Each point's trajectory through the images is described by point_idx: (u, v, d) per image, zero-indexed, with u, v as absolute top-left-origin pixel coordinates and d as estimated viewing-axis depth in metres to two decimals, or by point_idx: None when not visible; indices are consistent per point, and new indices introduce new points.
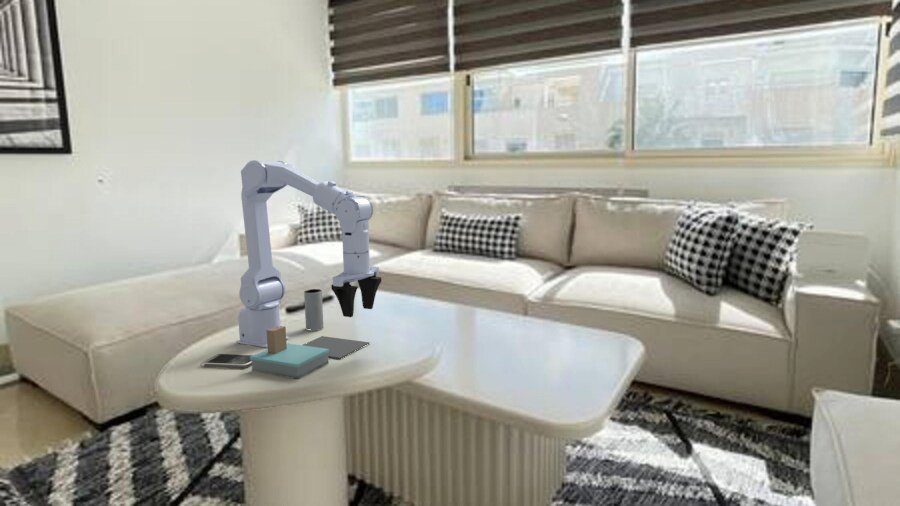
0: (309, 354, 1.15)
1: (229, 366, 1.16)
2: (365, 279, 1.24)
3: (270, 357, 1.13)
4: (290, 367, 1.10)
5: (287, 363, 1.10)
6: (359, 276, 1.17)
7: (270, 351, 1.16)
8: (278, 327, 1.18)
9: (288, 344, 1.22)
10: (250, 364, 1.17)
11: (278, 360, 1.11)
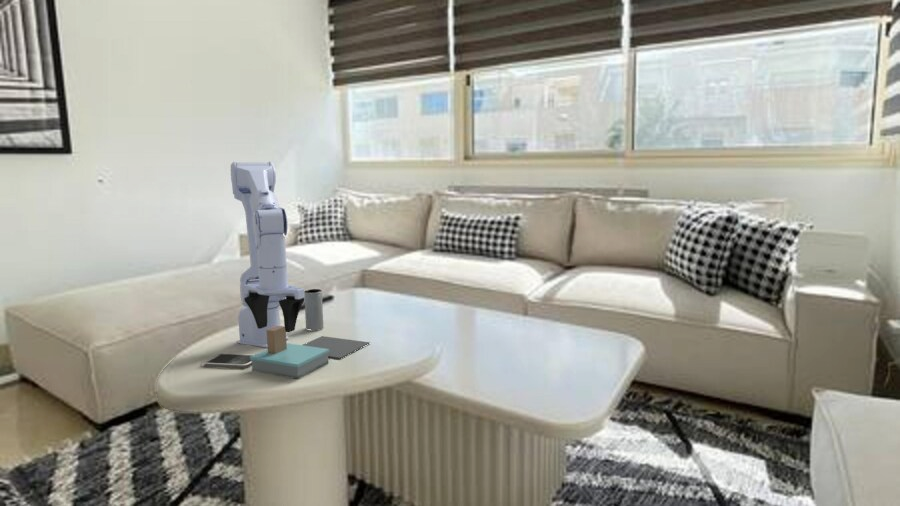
0: (309, 354, 1.15)
1: (229, 366, 1.16)
2: None
3: (270, 357, 1.13)
4: (290, 367, 1.10)
5: (287, 363, 1.10)
6: (256, 290, 1.14)
7: (270, 351, 1.16)
8: (278, 327, 1.18)
9: (288, 344, 1.22)
10: (250, 364, 1.17)
11: (278, 360, 1.11)
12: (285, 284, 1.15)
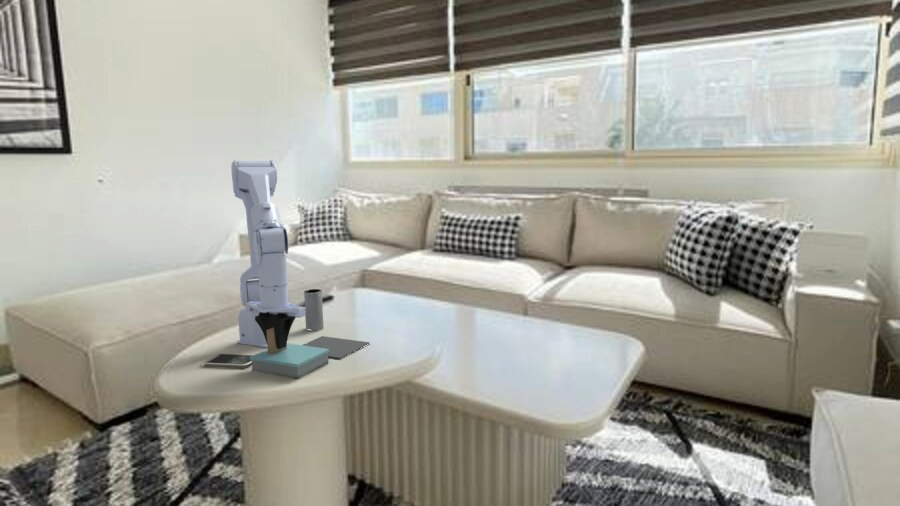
0: (309, 354, 1.15)
1: (229, 366, 1.16)
2: None
3: (270, 357, 1.13)
4: (290, 367, 1.10)
5: (287, 363, 1.10)
6: (258, 308, 1.15)
7: (270, 351, 1.16)
8: None
9: (288, 344, 1.22)
10: (250, 364, 1.17)
11: (278, 360, 1.11)
12: (286, 302, 1.15)
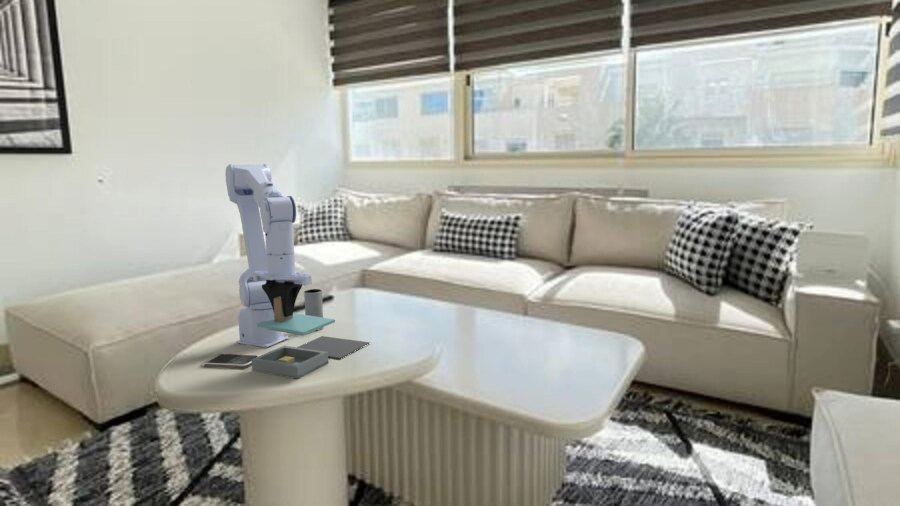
0: (315, 323, 1.17)
1: (229, 366, 1.16)
2: None
3: (276, 325, 1.15)
4: (290, 367, 1.10)
5: (293, 331, 1.12)
6: (265, 276, 1.17)
7: (277, 319, 1.18)
8: None
9: (294, 314, 1.24)
10: (250, 364, 1.17)
11: (284, 328, 1.13)
12: (293, 271, 1.17)
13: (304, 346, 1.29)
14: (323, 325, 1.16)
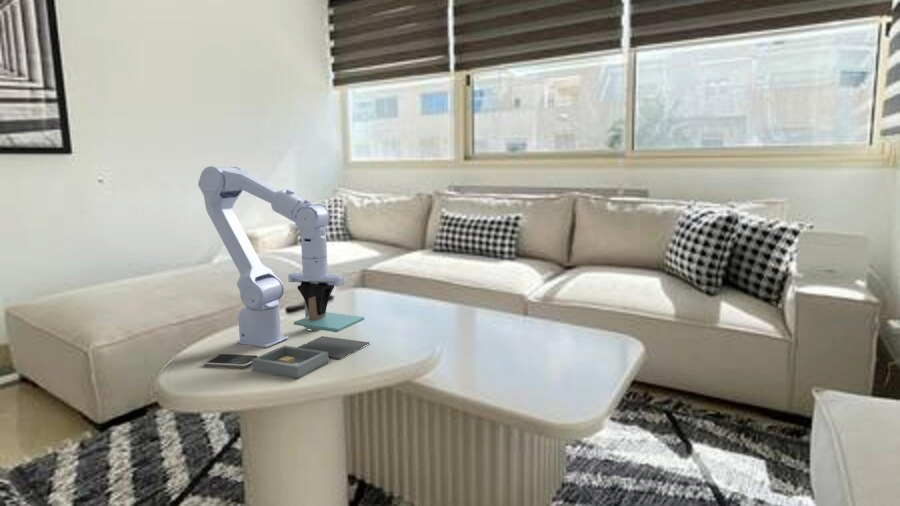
0: (347, 321, 1.27)
1: (229, 366, 1.16)
2: None
3: (312, 323, 1.25)
4: (290, 367, 1.10)
5: (329, 328, 1.22)
6: (300, 278, 1.27)
7: (311, 318, 1.28)
8: None
9: (326, 312, 1.34)
10: (250, 364, 1.17)
11: (320, 325, 1.24)
12: (326, 273, 1.27)
13: (304, 346, 1.29)
14: (354, 322, 1.27)
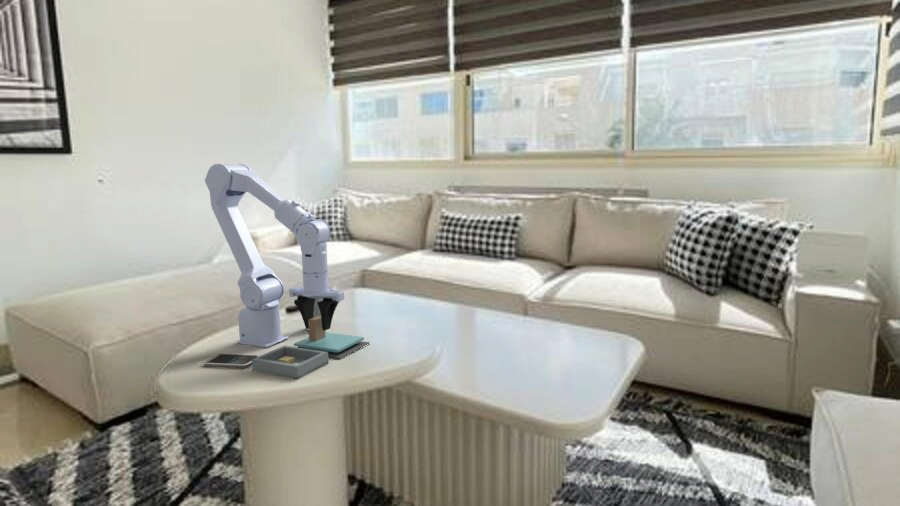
0: (347, 341, 1.28)
1: (229, 366, 1.16)
2: None
3: (312, 344, 1.26)
4: (290, 367, 1.10)
5: (328, 349, 1.23)
6: (301, 293, 1.28)
7: (311, 338, 1.29)
8: (318, 317, 1.31)
9: (326, 333, 1.35)
10: (250, 364, 1.17)
11: (320, 346, 1.25)
12: (327, 288, 1.28)
13: None
14: (354, 342, 1.28)
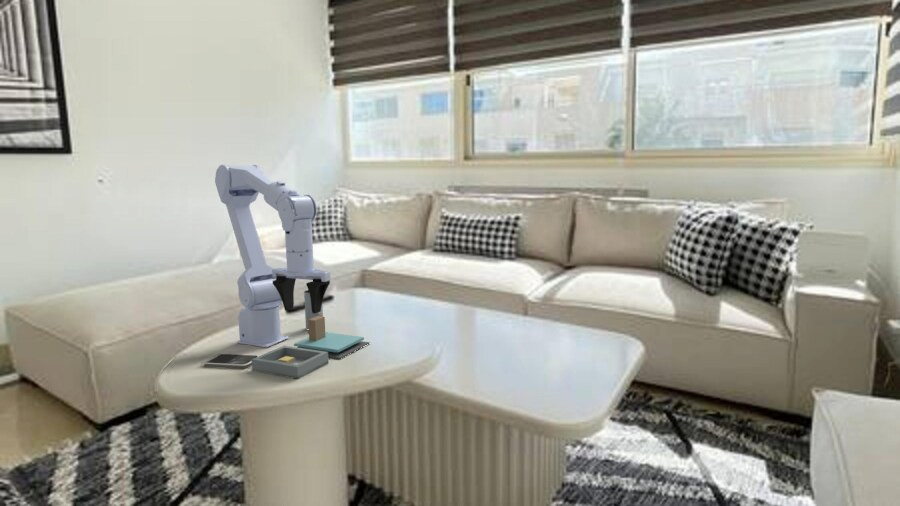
0: (347, 341, 1.28)
1: (229, 366, 1.16)
2: None
3: (312, 344, 1.26)
4: (290, 367, 1.10)
5: (328, 349, 1.23)
6: (284, 273, 1.20)
7: (311, 338, 1.29)
8: (318, 317, 1.31)
9: (326, 333, 1.35)
10: (250, 364, 1.17)
11: (320, 346, 1.25)
12: (312, 267, 1.20)
13: None
14: (354, 342, 1.28)
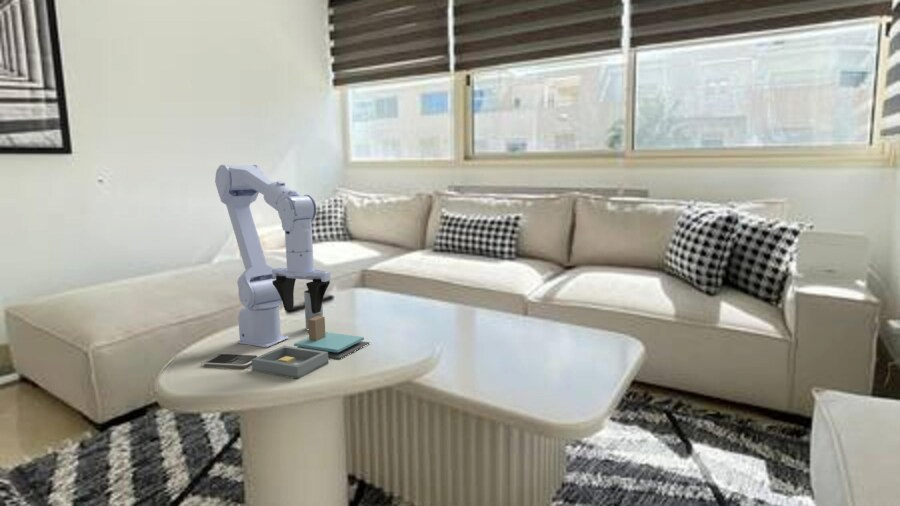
0: (347, 341, 1.28)
1: (229, 366, 1.16)
2: None
3: (312, 344, 1.26)
4: (290, 367, 1.10)
5: (328, 349, 1.23)
6: (284, 273, 1.20)
7: (311, 338, 1.29)
8: (318, 317, 1.31)
9: (326, 333, 1.35)
10: (250, 364, 1.17)
11: (320, 346, 1.25)
12: (311, 267, 1.20)
13: None
14: (354, 342, 1.28)
